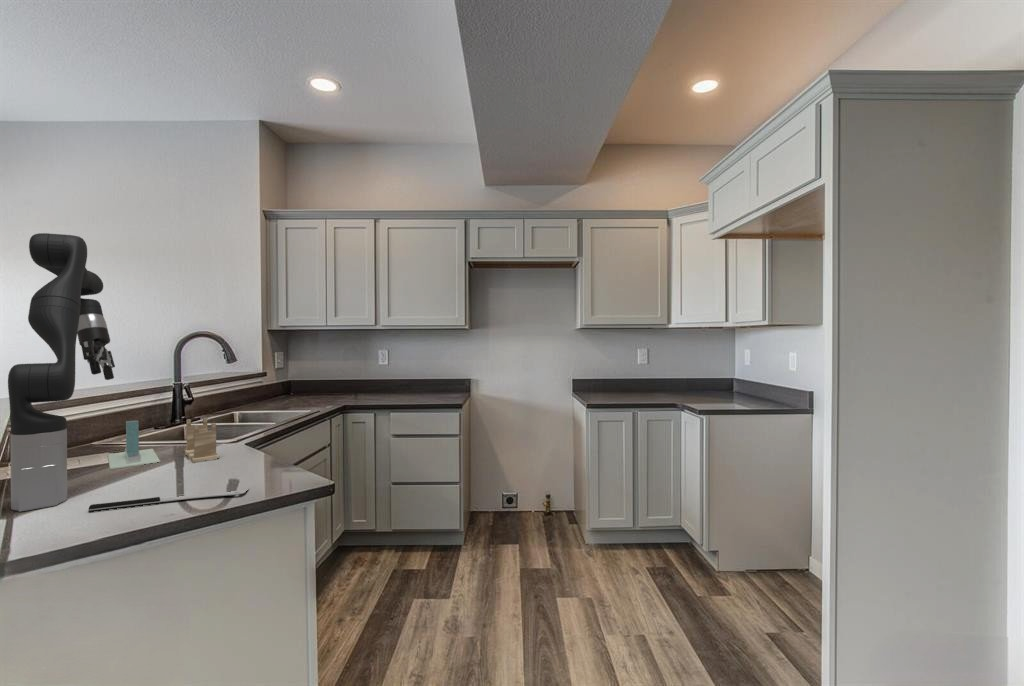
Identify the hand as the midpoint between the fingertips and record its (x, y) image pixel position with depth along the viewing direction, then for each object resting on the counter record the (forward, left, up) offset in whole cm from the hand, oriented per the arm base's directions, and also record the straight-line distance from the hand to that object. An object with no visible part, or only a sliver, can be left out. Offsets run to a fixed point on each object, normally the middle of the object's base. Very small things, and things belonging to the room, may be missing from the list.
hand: (103, 376), depth 146 cm
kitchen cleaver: (-60, -12, -28) cm, 67 cm away
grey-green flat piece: (-2, -7, -27) cm, 28 cm away
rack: (-13, -24, -27) cm, 39 cm away
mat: (-2, -7, -27) cm, 28 cm away
